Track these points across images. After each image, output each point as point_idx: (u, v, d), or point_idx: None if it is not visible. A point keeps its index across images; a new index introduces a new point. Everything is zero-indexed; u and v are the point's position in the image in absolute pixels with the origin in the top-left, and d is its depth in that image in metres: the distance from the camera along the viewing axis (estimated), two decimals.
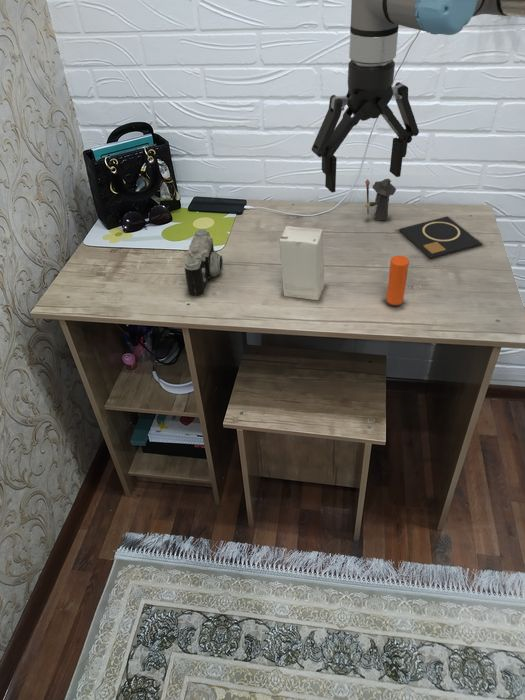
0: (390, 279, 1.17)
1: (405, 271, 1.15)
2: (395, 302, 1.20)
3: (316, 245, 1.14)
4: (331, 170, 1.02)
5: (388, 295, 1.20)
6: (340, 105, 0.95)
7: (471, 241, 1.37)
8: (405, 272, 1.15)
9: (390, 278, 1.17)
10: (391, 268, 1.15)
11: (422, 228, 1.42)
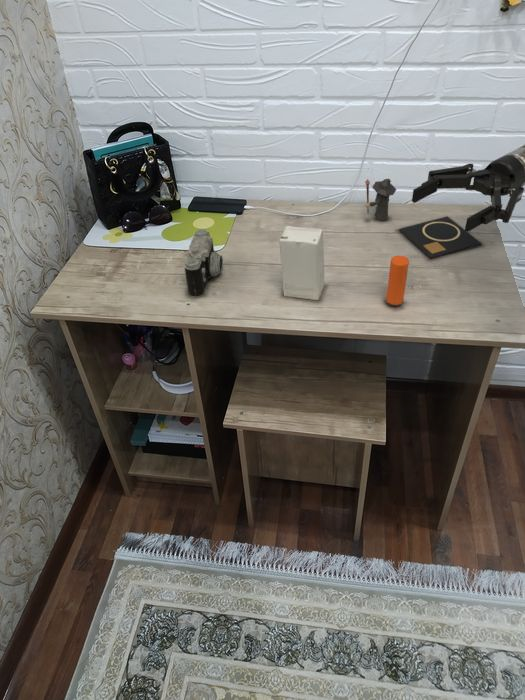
0: (390, 279, 1.17)
1: (405, 271, 1.15)
2: (395, 302, 1.20)
3: (316, 245, 1.14)
4: None
5: (388, 295, 1.20)
6: (469, 165, 1.19)
7: (471, 241, 1.37)
8: (405, 272, 1.15)
9: (390, 278, 1.17)
10: (391, 268, 1.15)
11: (422, 228, 1.42)
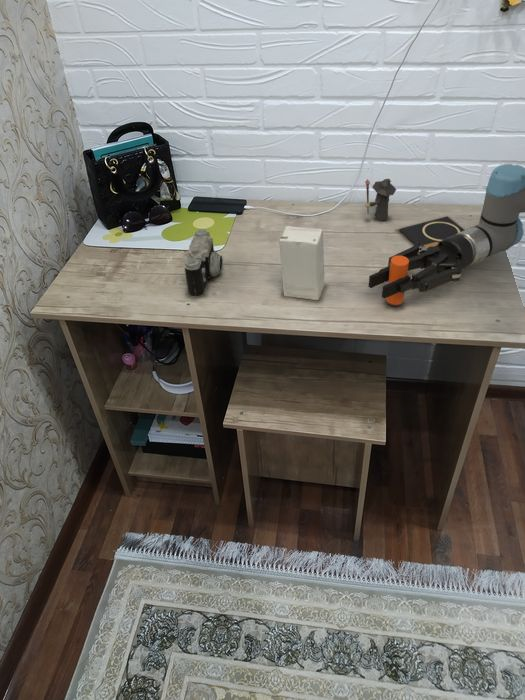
0: (390, 279, 1.17)
1: (405, 271, 1.15)
2: (395, 302, 1.20)
3: (316, 245, 1.14)
4: (385, 270, 1.18)
5: None
6: (419, 244, 1.24)
7: None
8: (405, 272, 1.15)
9: (390, 278, 1.17)
10: (391, 268, 1.15)
11: (422, 228, 1.42)
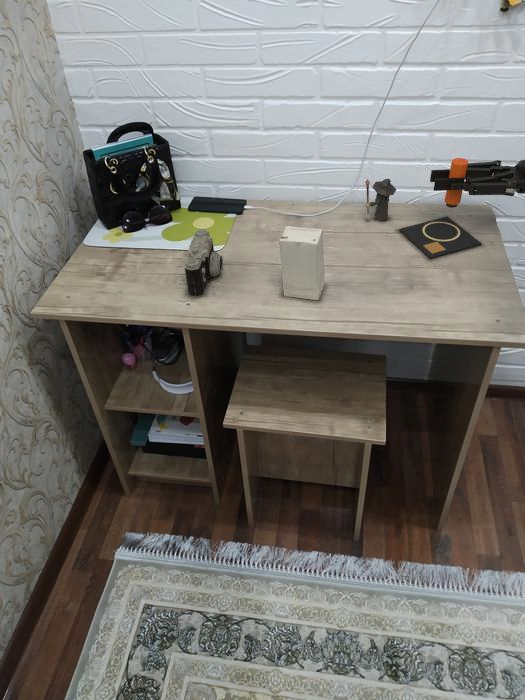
0: None
1: (461, 172, 1.29)
2: (449, 202, 1.35)
3: (316, 245, 1.14)
4: None
5: None
6: (498, 161, 1.35)
7: (471, 241, 1.37)
8: (461, 173, 1.29)
9: (449, 177, 1.32)
10: None
11: (422, 228, 1.42)
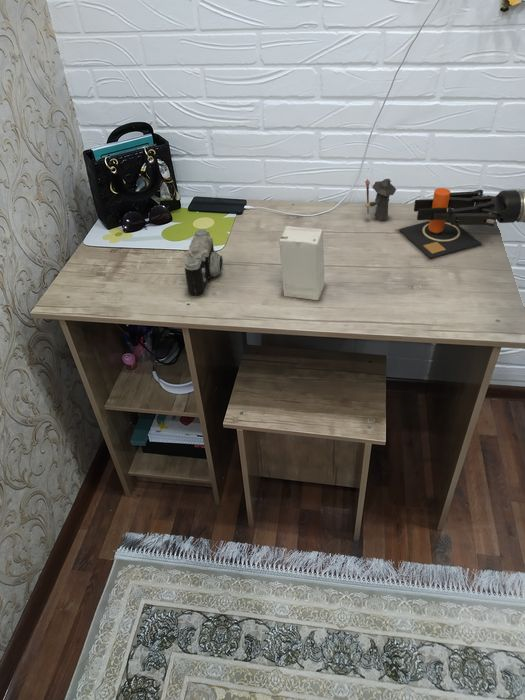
0: (432, 207, 1.36)
1: (443, 202, 1.33)
2: (433, 229, 1.38)
3: (316, 245, 1.14)
4: (432, 200, 1.37)
5: (429, 222, 1.39)
6: (480, 191, 1.39)
7: (471, 241, 1.37)
8: (443, 203, 1.33)
9: (432, 206, 1.36)
10: None
11: (422, 228, 1.42)
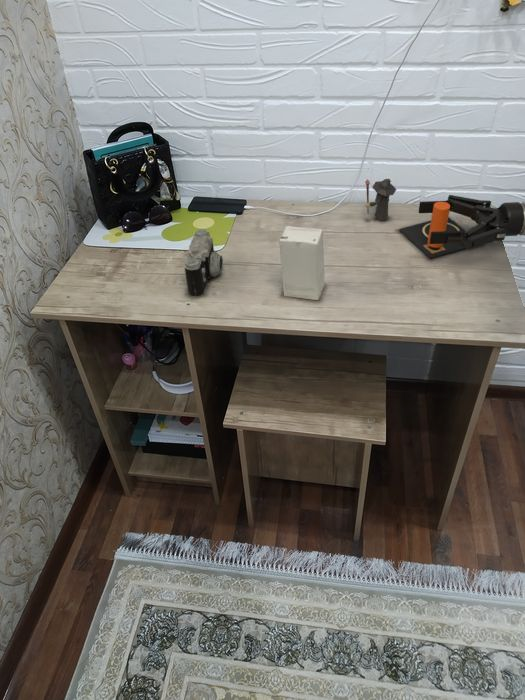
0: (431, 221, 1.31)
1: (443, 216, 1.28)
2: (432, 244, 1.34)
3: (316, 245, 1.14)
4: None
5: (428, 236, 1.34)
6: (487, 202, 1.34)
7: None
8: (443, 217, 1.28)
9: (431, 220, 1.31)
10: None
11: (422, 228, 1.42)
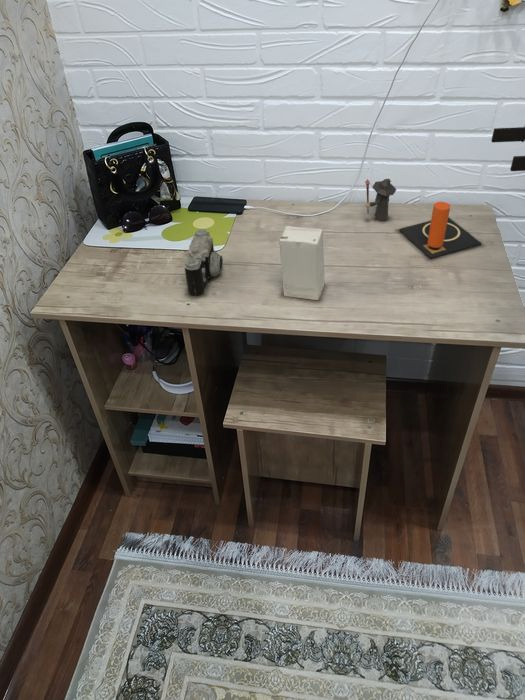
0: (431, 221, 1.31)
1: (443, 216, 1.28)
2: (432, 244, 1.34)
3: (316, 245, 1.14)
4: None
5: (428, 236, 1.34)
6: None
7: (471, 241, 1.37)
8: (443, 217, 1.28)
9: (431, 220, 1.31)
10: None
11: (422, 228, 1.42)
